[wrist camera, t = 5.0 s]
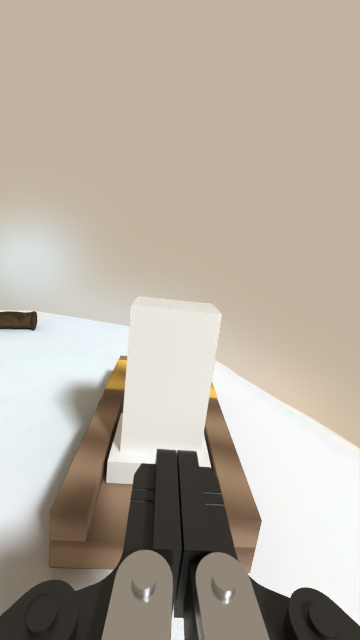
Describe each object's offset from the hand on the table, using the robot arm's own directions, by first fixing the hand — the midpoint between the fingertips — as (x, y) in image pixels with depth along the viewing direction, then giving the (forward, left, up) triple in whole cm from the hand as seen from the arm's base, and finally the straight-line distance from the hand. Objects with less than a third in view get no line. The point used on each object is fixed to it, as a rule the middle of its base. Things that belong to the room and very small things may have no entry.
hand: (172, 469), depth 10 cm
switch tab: (-8, +7, -8) cm, 14 cm away
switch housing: (-12, +10, -11) cm, 19 cm away
